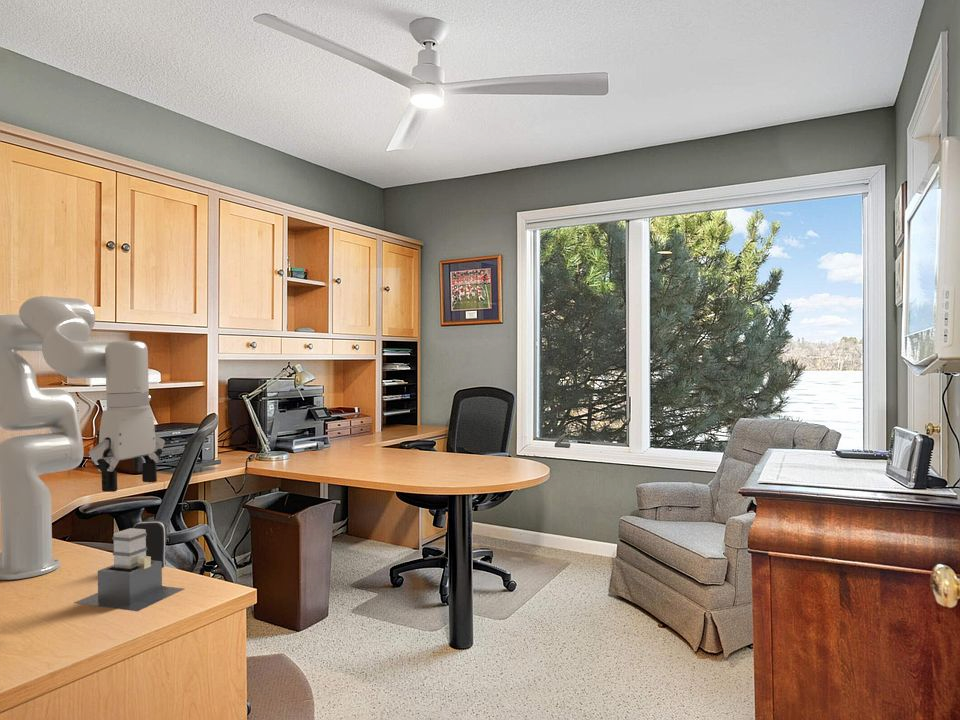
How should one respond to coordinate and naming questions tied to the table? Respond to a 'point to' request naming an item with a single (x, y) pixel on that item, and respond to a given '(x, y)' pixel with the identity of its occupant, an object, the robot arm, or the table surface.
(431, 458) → the table surface
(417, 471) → the table surface
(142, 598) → the stand
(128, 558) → the column
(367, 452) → the table surface
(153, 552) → the battery charger
